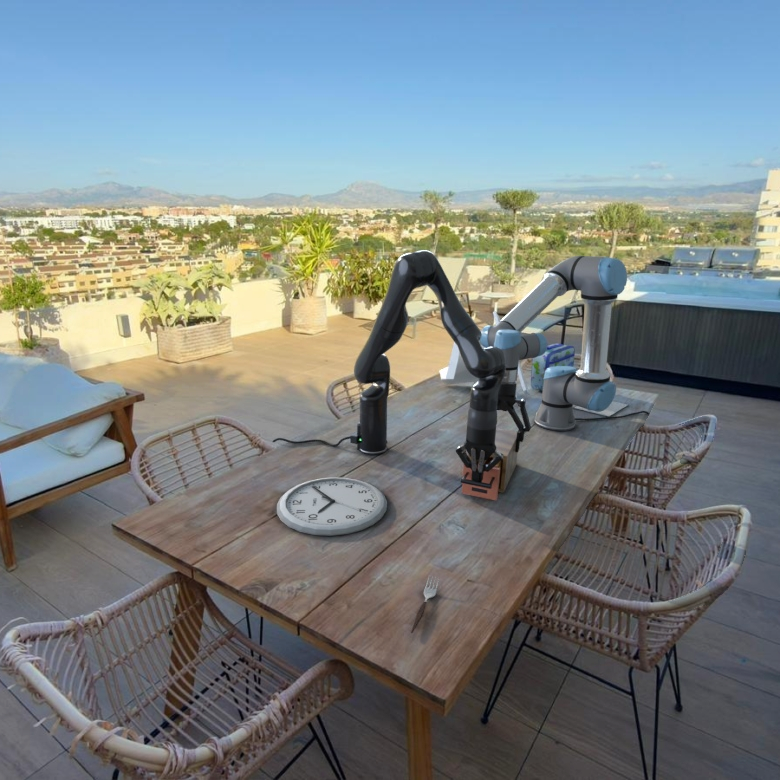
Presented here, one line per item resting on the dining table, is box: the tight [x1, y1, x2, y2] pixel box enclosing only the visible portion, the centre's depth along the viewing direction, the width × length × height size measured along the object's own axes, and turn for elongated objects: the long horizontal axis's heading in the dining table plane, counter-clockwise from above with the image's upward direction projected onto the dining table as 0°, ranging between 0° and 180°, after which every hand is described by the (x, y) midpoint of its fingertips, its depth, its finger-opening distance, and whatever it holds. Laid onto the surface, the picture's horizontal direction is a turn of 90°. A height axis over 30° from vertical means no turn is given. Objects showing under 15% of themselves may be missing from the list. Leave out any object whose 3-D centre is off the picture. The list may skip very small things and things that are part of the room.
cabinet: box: [467, 427, 519, 494], centre depth 161 cm, size 21×11×11 cm, turn 157°
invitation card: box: [573, 400, 629, 417], centre depth 226 cm, size 21×1×15 cm
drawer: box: [459, 457, 503, 501], centre depth 151 cm, size 26×10×9 cm, turn 157°
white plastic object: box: [438, 310, 531, 399], centre depth 245 cm, size 37×45×31 cm
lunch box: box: [530, 343, 576, 391], centre depth 249 cm, size 26×11×21 cm, turn 134°
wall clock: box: [276, 476, 388, 537], centre depth 142 cm, size 30×2×30 cm
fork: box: [410, 574, 440, 634], centre depth 104 cm, size 3×16×2 cm, turn 160°
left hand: (477, 482), depth 141 cm, fingers closed
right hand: (498, 447), depth 166 cm, fingers closed on cabinet, 11 cm apart
